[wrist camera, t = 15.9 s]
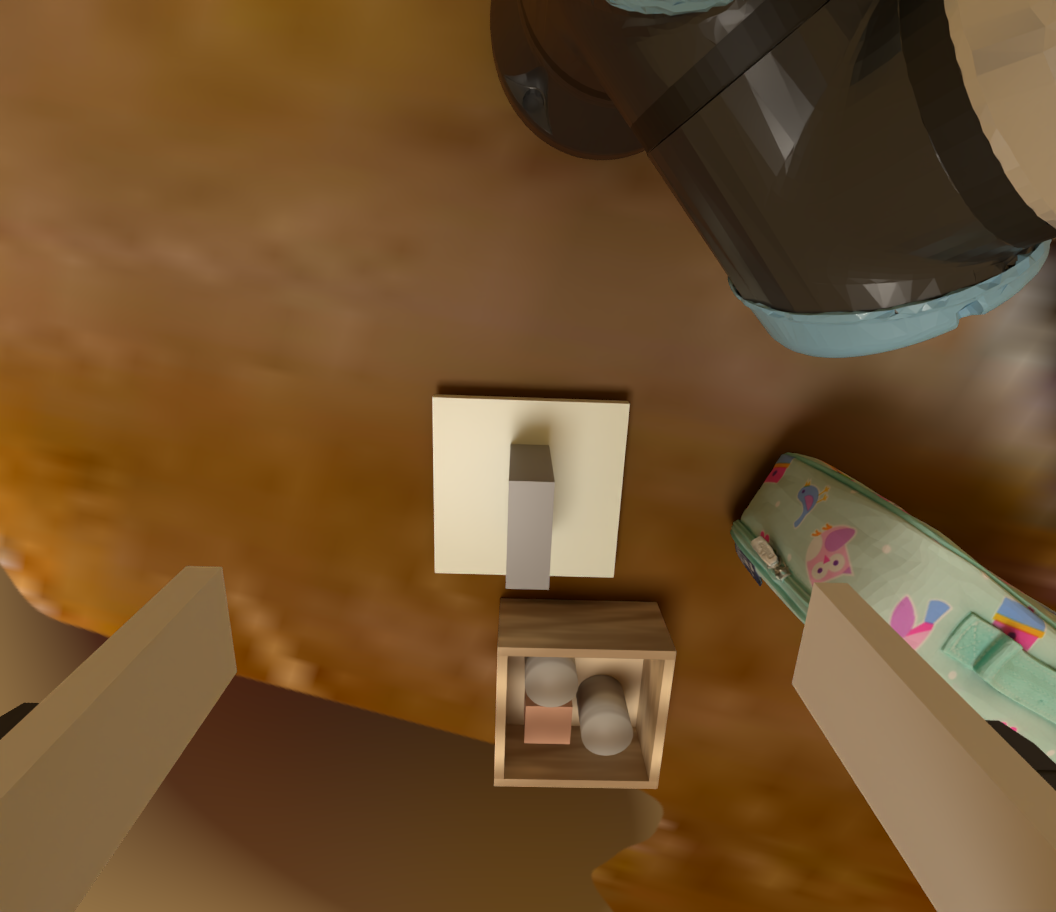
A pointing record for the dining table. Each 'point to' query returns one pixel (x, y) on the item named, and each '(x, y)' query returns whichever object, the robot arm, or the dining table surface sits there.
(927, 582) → the lunch box
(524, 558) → the lid
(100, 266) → the dining table surface
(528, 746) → the crate
